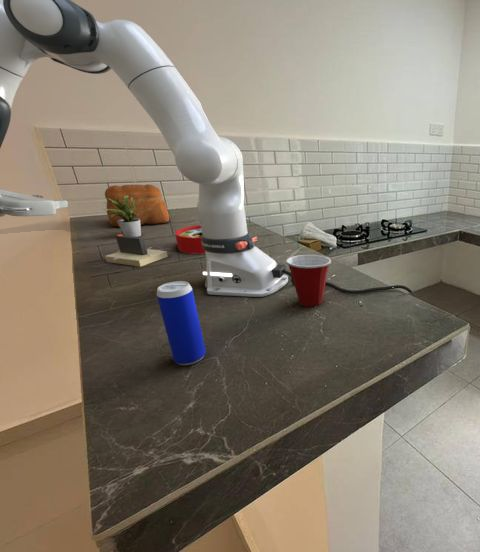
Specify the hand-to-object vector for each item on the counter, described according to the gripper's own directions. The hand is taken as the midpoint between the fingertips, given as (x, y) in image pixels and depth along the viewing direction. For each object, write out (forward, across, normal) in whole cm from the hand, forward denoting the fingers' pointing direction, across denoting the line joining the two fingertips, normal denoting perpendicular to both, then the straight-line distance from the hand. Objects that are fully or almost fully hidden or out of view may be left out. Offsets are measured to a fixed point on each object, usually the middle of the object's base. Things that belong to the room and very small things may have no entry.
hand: (53, 201), depth 87 cm
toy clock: (+37, -13, +17) cm, 43 cm away
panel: (+16, -5, +19) cm, 25 cm away
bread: (+50, +40, +18) cm, 66 cm away
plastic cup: (+11, -72, +16) cm, 75 cm away
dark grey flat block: (+16, -4, +17) cm, 24 cm away
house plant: (+35, +24, +19) cm, 46 cm away
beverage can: (-17, -64, +20) cm, 69 cm away
